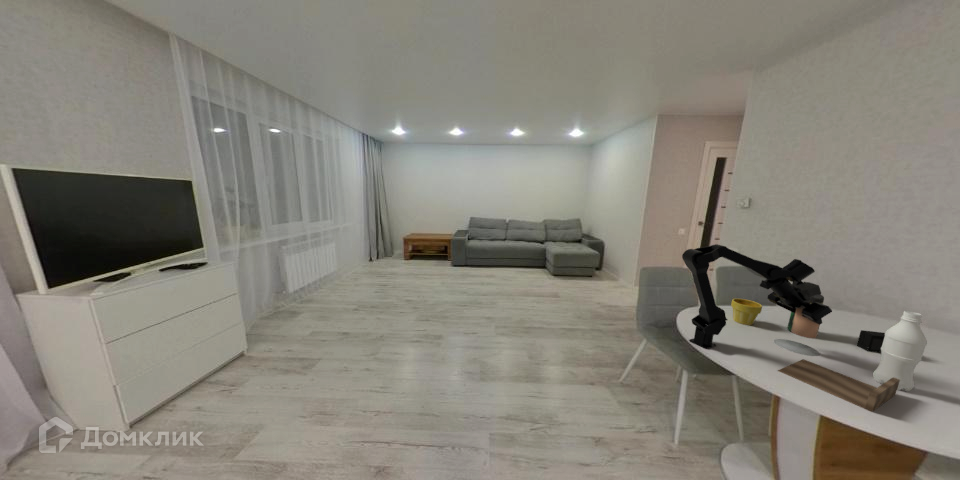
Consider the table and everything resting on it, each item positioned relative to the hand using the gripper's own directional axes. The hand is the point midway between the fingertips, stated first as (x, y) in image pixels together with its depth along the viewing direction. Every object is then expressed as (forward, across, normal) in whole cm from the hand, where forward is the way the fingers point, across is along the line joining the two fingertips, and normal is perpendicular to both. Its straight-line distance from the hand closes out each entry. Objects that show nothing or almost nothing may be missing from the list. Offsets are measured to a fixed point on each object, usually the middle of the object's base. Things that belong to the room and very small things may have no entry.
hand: (811, 319), depth 105 cm
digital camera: (+32, +6, -13) cm, 35 cm away
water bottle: (+16, -18, +4) cm, 24 cm away
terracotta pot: (+3, 0, +5) cm, 6 cm away
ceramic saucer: (+9, +2, +10) cm, 14 cm away
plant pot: (+7, +25, +12) cm, 29 cm away
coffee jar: (+20, +18, -1) cm, 27 cm away
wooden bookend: (+3, -20, +16) cm, 26 cm away
